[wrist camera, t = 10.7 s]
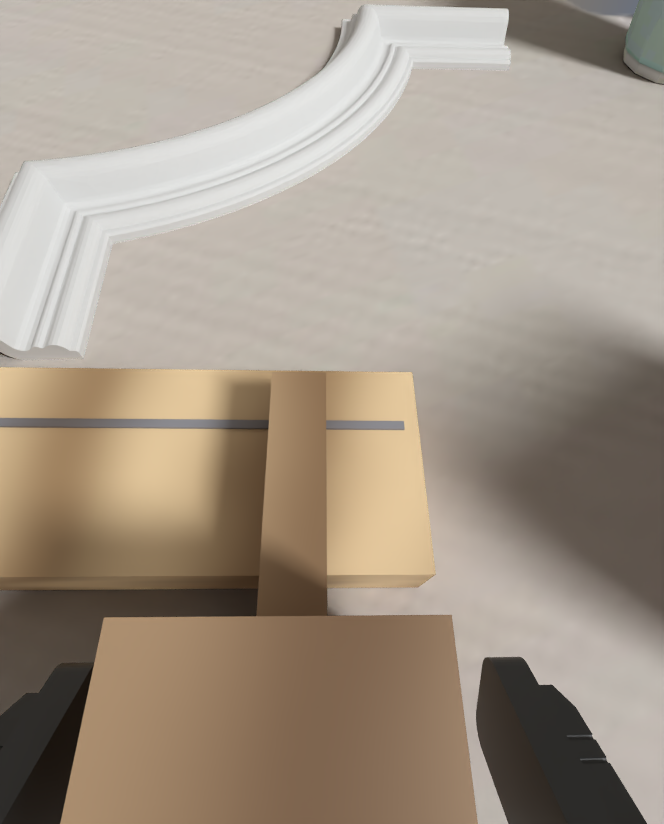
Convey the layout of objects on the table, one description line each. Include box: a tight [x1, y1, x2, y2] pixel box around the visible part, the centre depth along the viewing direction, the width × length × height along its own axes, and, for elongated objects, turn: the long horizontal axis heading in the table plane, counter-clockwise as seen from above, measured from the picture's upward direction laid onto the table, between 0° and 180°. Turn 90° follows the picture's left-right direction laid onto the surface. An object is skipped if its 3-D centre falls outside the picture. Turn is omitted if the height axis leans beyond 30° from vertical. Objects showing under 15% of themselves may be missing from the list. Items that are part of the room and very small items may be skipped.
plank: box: [0, 367, 436, 590], centre depth 15 cm, size 24×7×3 cm, turn 91°
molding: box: [0, 4, 511, 360], centre depth 27 cm, size 42×12×3 cm, turn 138°
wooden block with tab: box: [60, 372, 478, 824], centre depth 11 cm, size 5×11×9 cm, turn 1°
